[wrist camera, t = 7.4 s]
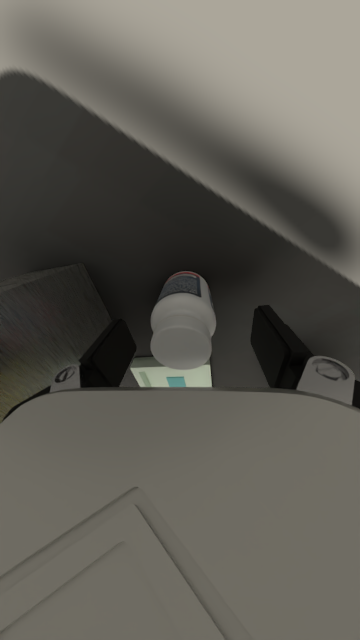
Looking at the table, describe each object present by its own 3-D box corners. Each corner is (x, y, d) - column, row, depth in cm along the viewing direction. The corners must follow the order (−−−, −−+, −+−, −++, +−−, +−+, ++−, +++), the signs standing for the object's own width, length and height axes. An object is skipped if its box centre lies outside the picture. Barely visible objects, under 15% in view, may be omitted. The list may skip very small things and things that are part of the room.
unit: (76, 339, 22) (-114, 528, 9) (25, 270, 16) (-813, 506, 3) (122, 335, 21) (-14, 549, 7) (83, 259, 15) (-914, 592, 2)
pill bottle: (154, 293, 17) (123, 347, 9) (186, 259, 14) (177, 297, 7) (186, 320, 19) (180, 384, 11) (219, 294, 16) (239, 354, 9)
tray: (153, 396, 30) (151, 407, 28) (134, 357, 23) (129, 367, 22) (212, 396, 28) (213, 407, 26) (208, 353, 22) (210, 364, 20)
